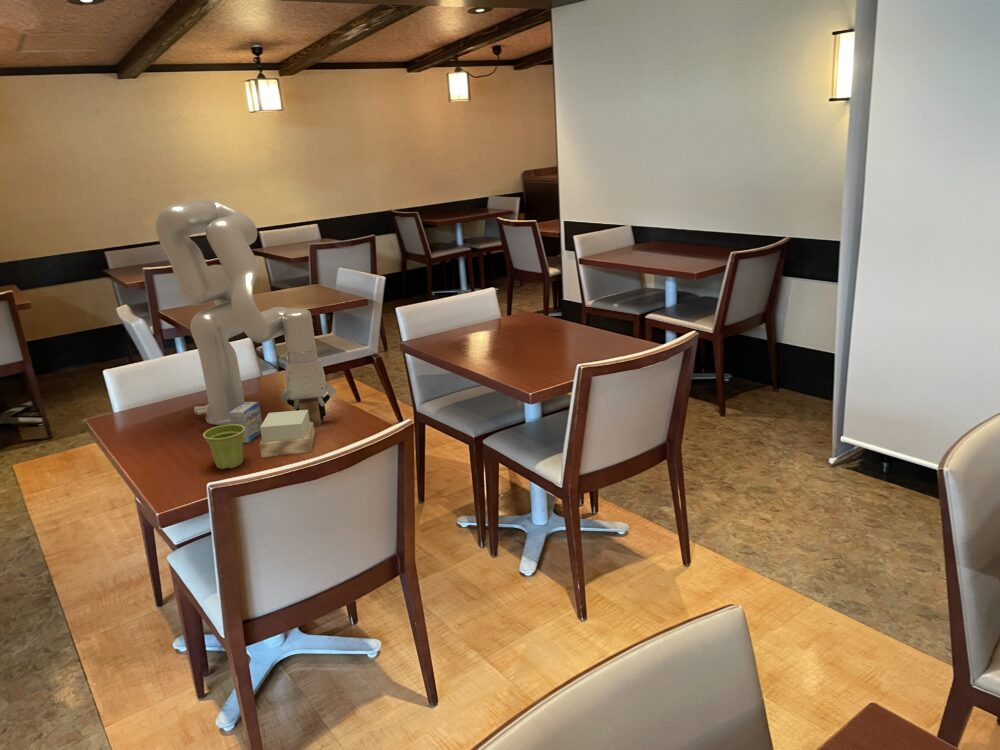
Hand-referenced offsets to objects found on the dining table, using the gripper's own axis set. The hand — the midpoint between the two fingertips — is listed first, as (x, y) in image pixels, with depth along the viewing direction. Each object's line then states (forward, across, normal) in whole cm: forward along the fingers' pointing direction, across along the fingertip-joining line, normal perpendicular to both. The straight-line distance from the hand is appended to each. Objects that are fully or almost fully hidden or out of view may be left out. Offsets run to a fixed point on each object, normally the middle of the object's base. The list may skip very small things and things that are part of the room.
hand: (311, 419), depth 204 cm
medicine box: (+2, -16, -5) cm, 17 cm away
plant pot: (+2, -18, -22) cm, 28 cm away
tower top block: (-2, -5, -14) cm, 15 cm away
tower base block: (+2, -5, -14) cm, 15 cm away
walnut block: (+1, 0, 0) cm, 1 cm away
